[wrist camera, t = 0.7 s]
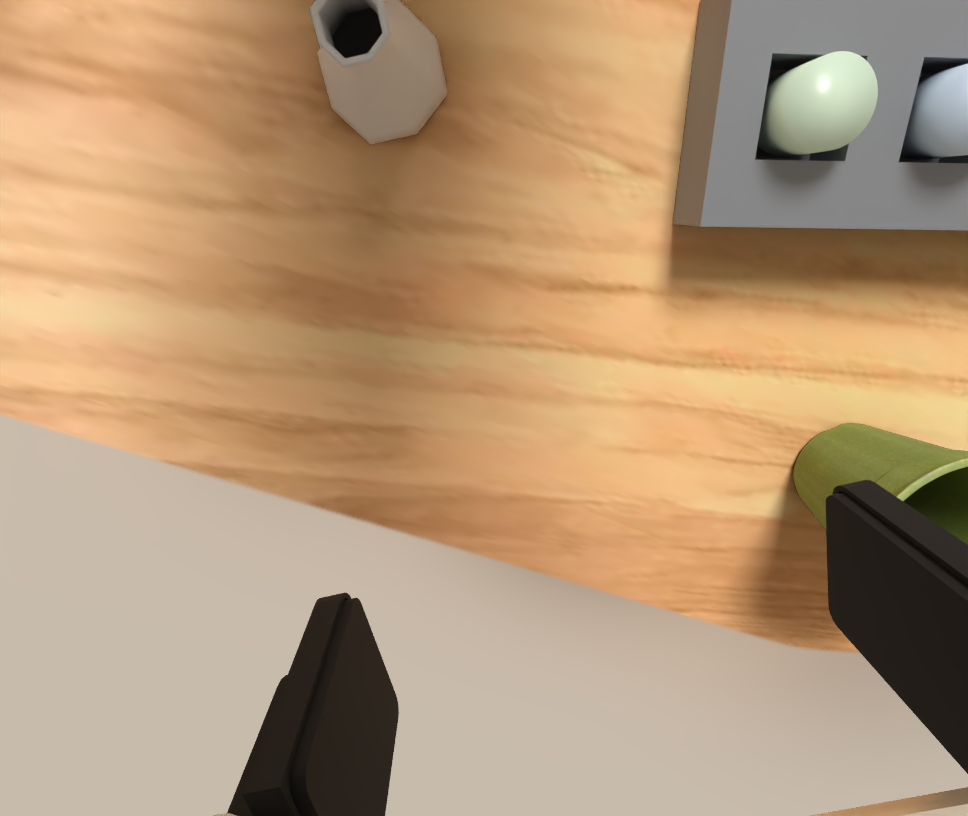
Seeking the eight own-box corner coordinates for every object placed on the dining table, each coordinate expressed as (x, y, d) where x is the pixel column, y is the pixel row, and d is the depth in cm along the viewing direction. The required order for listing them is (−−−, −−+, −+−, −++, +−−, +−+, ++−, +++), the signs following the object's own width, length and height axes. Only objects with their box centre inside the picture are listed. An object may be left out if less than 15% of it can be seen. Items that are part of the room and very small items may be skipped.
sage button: (758, 68, 31) (798, 49, 27) (836, 71, 31) (888, 51, 27) (744, 156, 32) (780, 150, 28) (819, 157, 32) (865, 151, 29)
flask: (402, -28, 31) (374, -130, 21) (469, 101, 33) (469, 59, 24) (295, 47, 32) (224, -19, 22) (367, 167, 34) (329, 152, 25)
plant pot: (903, 527, 44) (1041, 628, 33) (753, 537, 44) (844, 642, 33) (935, 384, 40) (1103, 448, 29) (770, 395, 40) (880, 464, 29)
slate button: (900, 72, 31) (960, 53, 27) (977, 74, 31) (1047, 56, 27) (879, 159, 32) (934, 153, 29) (953, 160, 33) (1017, 154, 29)
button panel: (699, 1, 32) (735, -31, 27) (1141, 13, 32) (1242, -16, 28) (672, 224, 36) (700, 226, 31) (1065, 229, 37) (1143, 232, 32)
